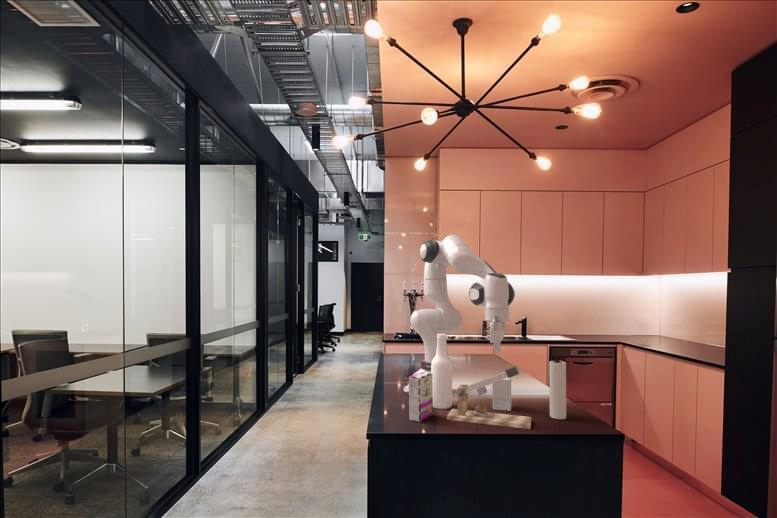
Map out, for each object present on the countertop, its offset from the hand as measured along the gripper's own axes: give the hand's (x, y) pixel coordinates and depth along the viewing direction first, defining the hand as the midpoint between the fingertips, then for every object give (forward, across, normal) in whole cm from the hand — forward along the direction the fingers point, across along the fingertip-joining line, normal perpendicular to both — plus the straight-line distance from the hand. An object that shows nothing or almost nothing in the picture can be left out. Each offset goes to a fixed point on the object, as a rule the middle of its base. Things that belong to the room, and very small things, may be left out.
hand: (497, 352), depth 170 cm
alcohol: (+25, +13, +24) cm, 37 cm away
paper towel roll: (+26, +14, -22) cm, 37 cm away
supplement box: (+26, +19, 0) cm, 32 cm away
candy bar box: (+26, -5, +28) cm, 39 cm away
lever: (+14, 0, +2) cm, 14 cm away
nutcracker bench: (+26, 0, +3) cm, 26 cm away
